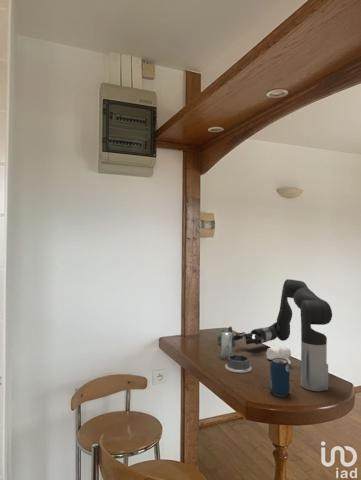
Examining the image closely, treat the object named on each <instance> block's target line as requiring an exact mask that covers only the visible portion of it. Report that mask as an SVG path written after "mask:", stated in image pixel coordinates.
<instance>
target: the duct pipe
mask: <svg viewBox="0 0 361 480" xmlns="http://www.w3.org/2000/svg"><path fill="white" fill-rule="evenodd" d="M221 334H222V344H221V349H220V350H221V351H220V355H221V359H222V360H227V361H228V356H231V355H233V348H232V347H233V346H232V334H233V332H232V333H231V332H228V331H226V332H222V331H221Z"/></svg>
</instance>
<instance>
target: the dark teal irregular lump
mask: <svg viewBox="0 0 361 480" xmlns="http://www.w3.org/2000/svg"><path fill="white" fill-rule="evenodd" d="M227 328H228V329H227V330H225V329H222V330H221V333H219V335H218V336H217V342H218V345H219V346H221V344H222V332H231V333H232V347H234V346H235V345H236V344H235V341H236V340H235V341H234V340H233V336H236V334H233V327H232V326H229V327H227Z"/></svg>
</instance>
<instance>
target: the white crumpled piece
mask: <svg viewBox="0 0 361 480" xmlns="http://www.w3.org/2000/svg"><path fill="white" fill-rule="evenodd" d="M291 351H292V350H291V348H290V347H288V346H278V345H275V346H271V347H268V348H267V349H266V353H265V354H266V359H267V360H272V359H274V358H282V359H286V360H288V364H289V365H291V363H292V362H291V360H290V358H291V356H292V352H291Z"/></svg>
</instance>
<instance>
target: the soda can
mask: <svg viewBox="0 0 361 480" xmlns="http://www.w3.org/2000/svg"><path fill="white" fill-rule="evenodd" d="M290 368H291V367H290V364H288V360H286V359H282V358H274V359H271V362H270V365H269V373H270V374H269V390H270V392H271V394H273V395H274V396H276V397H286V396H288V394H289V393H290V383H291V382H290V380H291V379H290V374H291V373H290V372H291V370H290Z"/></svg>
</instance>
